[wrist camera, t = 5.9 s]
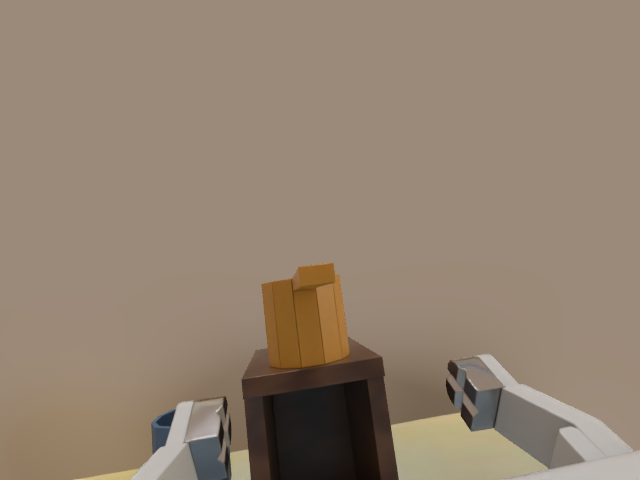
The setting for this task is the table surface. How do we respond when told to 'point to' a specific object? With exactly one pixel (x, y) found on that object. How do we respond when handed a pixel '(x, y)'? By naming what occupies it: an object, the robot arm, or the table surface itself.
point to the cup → (305, 318)
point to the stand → (319, 419)
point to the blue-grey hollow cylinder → (162, 430)
